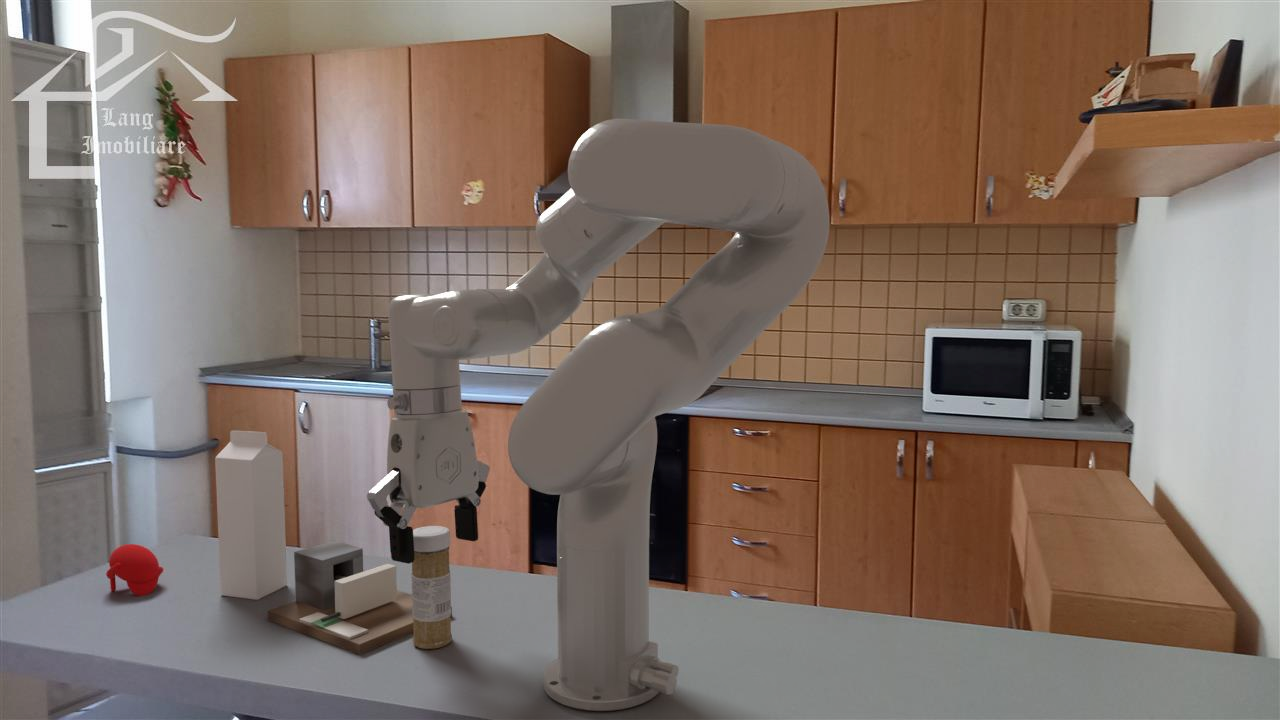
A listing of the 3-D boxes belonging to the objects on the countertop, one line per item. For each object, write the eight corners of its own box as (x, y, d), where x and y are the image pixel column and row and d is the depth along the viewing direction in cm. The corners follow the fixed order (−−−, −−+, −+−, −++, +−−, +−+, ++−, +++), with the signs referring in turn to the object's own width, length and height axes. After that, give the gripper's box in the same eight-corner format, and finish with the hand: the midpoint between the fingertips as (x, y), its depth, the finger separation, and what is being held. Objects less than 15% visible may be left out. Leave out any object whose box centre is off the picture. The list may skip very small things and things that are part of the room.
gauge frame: (452, 615, 110) (450, 557, 109) (359, 654, 98) (357, 589, 97) (360, 587, 120) (359, 533, 119) (267, 619, 108) (265, 560, 108)
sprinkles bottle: (441, 631, 105) (438, 522, 103) (459, 643, 101) (457, 530, 100) (405, 641, 102) (402, 529, 101) (422, 654, 98) (420, 538, 97)
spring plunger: (396, 599, 111) (396, 565, 111) (326, 625, 102) (325, 589, 102) (363, 589, 115) (362, 556, 114) (293, 613, 106) (291, 578, 106)
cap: (91, 566, 119) (98, 552, 115) (134, 542, 123) (142, 528, 119) (126, 613, 119) (133, 601, 115) (167, 587, 123) (176, 575, 119)
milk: (252, 581, 122) (246, 426, 121) (288, 585, 121) (282, 428, 119) (219, 596, 117) (213, 433, 115) (257, 600, 115) (251, 435, 113)
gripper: (388, 413, 90) (398, 576, 91) (504, 395, 104) (512, 535, 105) (342, 411, 94) (352, 566, 95) (460, 393, 108) (468, 528, 109)
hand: (436, 550), depth 100 cm, fingers open, 9 cm apart
